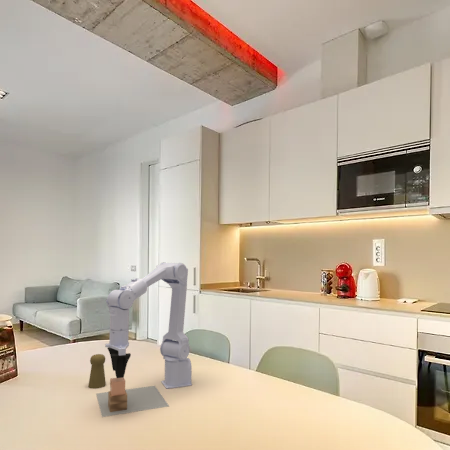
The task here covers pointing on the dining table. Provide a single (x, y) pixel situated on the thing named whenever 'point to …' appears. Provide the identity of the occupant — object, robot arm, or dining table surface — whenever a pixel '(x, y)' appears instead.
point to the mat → (134, 401)
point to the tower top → (117, 398)
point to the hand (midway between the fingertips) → (118, 373)
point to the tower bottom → (117, 406)
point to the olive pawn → (97, 372)
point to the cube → (117, 386)
